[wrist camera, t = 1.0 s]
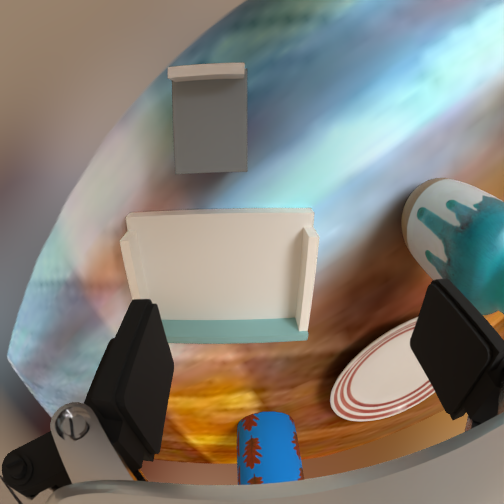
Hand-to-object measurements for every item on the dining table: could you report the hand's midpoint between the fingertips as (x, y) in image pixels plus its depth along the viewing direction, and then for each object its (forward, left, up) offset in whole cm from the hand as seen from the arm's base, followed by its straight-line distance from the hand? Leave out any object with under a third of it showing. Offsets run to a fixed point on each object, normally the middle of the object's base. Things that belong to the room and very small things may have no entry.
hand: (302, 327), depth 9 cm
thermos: (+44, +2, -22) cm, 49 cm away
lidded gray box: (-6, -4, -22) cm, 23 cm away
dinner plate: (+30, +25, -22) cm, 45 cm away
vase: (+3, +20, -22) cm, 30 cm away
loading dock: (+10, -4, -22) cm, 24 cm away
